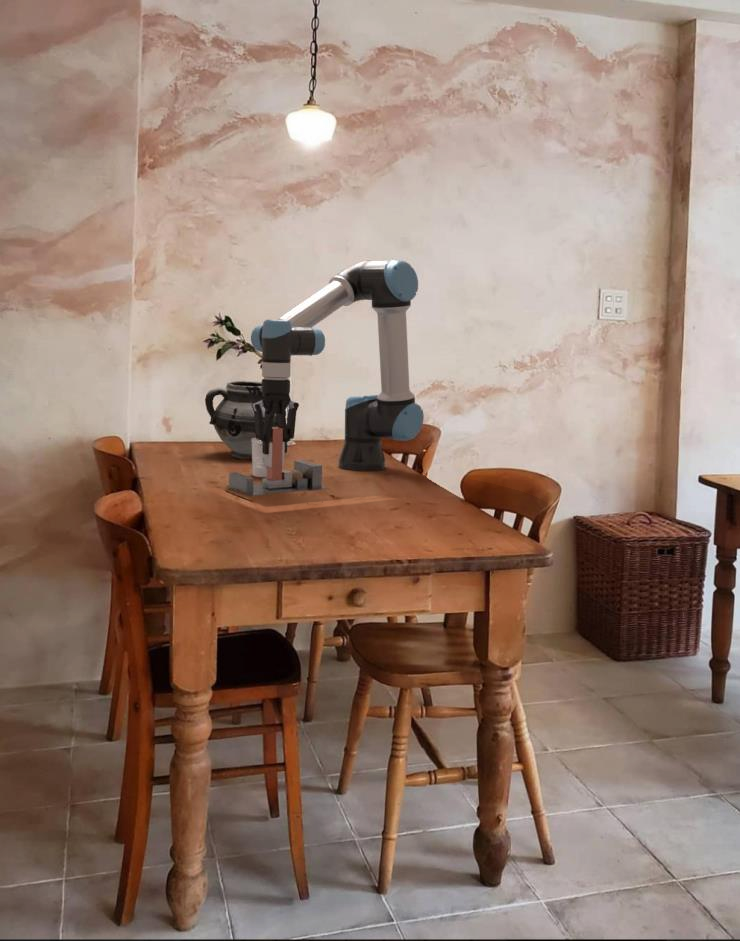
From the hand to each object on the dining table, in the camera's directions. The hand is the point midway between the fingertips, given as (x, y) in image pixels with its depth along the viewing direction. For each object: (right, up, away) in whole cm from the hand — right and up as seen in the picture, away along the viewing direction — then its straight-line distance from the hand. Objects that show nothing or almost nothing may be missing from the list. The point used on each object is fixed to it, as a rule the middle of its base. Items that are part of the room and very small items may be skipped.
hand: (274, 465), depth 249 cm
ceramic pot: (-15, +3, +60) cm, 63 cm away
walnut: (+5, -6, +5) cm, 9 cm away
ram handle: (+1, -6, +1) cm, 6 cm away
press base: (+1, -7, +2) cm, 8 cm away
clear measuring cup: (-5, -4, +20) cm, 21 cm away
